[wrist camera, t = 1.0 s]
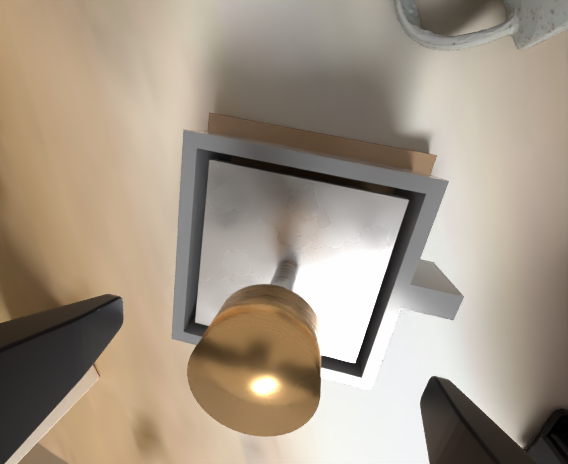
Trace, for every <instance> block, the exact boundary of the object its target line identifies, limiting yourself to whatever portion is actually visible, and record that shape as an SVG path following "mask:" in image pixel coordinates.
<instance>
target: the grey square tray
mask: <svg viewBox="0 0 568 464" xmlns="http://www.w3.org/2000/svg"><path fill="white" fill-rule="evenodd" d="M436 157H437V155H433V154H427V153H422V152H417V151H411V150H406V149H401V148H395V147H390V146H385V145H379V144H374V143H369V142H363V141H358V140H353V139H347V138H342V137H337V136H331V135H326V134H321V133H315V132H310V131H305V130H299V129H294V128H289V127H283V126H278V125H273V124H267V123H262V122H256V121H251V120H246V119H240V118H235V117H230V116H224V115H219V114H214V113H209V123H208V132H204V131H193V130H184V131H183V148H182V166H181V183H180V201H179V218H178V236H177V253H176V271H175V288H174V306H173V324H172V339H175V340H179V341H182V342H186V343H190V344H194V345H197V344H198V343H199V341H200V340H201V338H202V336H203V335H204V333H205V332H206V330H207V329H208V327H209V326H207V325H203V324H199V323H195V318H196V306H197V295H198V284H199V273H200V261H201V250H202V239H203V228H204V216H205V205H206V194H207V183H208V171H209V160H211V159H218V160H223V161H228V162H233V163H238V164H243V165H248V166H253V167H258V168H263V169H267V170H272V171H277V172H282V173H287V174H292V175H297V176H302V177H307V178H312V179H317V180H322V181H327V182H332V183H337V184H342V185H347V186H352V187H357V188H362V189H367V190H372V191H377V192H382V193H387V194H392V195H397V196H402V197H405V198H407V199H408V200H409V202H408V205H407V208H406V211H405V214H404V217H403V220H402V223H401V226H400V229H399V232H398V235H397V238H396V241H395V244H394V247H393V250H392V253H391V256H390V259H389V262H388V265H387V268H386V271H385V274H384V277H383V280H382V283H381V286H380V289H379V292H378V295H377V298H376V301H375V304H374V307H373V310H372V313H371V316H370V319H369V322H368V325H367V328H366V331H365V334H364V337H363V340H362V343H361V346H360V349H359V352H358V355H357V358H356V361H355V363H353V362H349V361H345V360H341V359H337V358H333V357H329V356H325V355H321V378H324V379H328V380H332V381H336V382H340V383H344V384H348V385H351V386H355V387H359V388H363V389H367V390H371V389H372V386H373V384H374V381H375V378H376V376H377V373H378V370H379V367H380V365H381V362H382V359H383V357H384V354H385V351H386V349H387V346H388V343H389V341H390V338H391V335H392V333H393V330H394V327H395V324H396V322H397V319H398V316H399V314H400V311H401V308H403V309H407V310H412V311H416V312H420V313H424V314H429V315H433V316H437V317H442V318H446V319H450V320H454V317H455V315H456V313H457V311H458V309H459V306H460V304H461V302H462V300H463V297H464V296H463V295H462V294H461V293H460V292H459V291H458V290H457V288H456V287H455V286H454V285H453V284H452V283H451V282H450V281H449V279H448V278H447V277H446V276H445V275H444V274H443V273H442V271H441V270H440V269H439V268H438V267H437V266H436V265H435V264H434V262H430V261H425V260H421V259H420V257H421V255H422V252H423V249H424V247H425V244H426V241H427V238H428V236H429V233H430V230H431V228H432V225H433V222H434V220H435V217H436V214H437V212H438V209H439V206H440V203H441V201H442V198H443V195H444V193H445V190H446V187H447V185H448V182H449V181H447V180H444V179H440V178H437V177H434V176H431V175H430V174H431V171H432V168H433V165H434V162H435V160H436Z"/></svg>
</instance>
